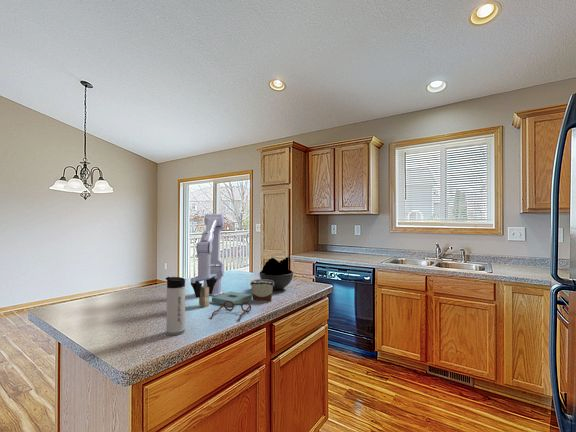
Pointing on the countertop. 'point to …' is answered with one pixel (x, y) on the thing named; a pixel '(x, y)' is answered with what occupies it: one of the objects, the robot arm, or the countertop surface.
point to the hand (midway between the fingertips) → (204, 295)
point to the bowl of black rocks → (277, 272)
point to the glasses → (233, 307)
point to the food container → (262, 290)
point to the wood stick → (204, 297)
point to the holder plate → (231, 298)
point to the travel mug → (175, 306)
